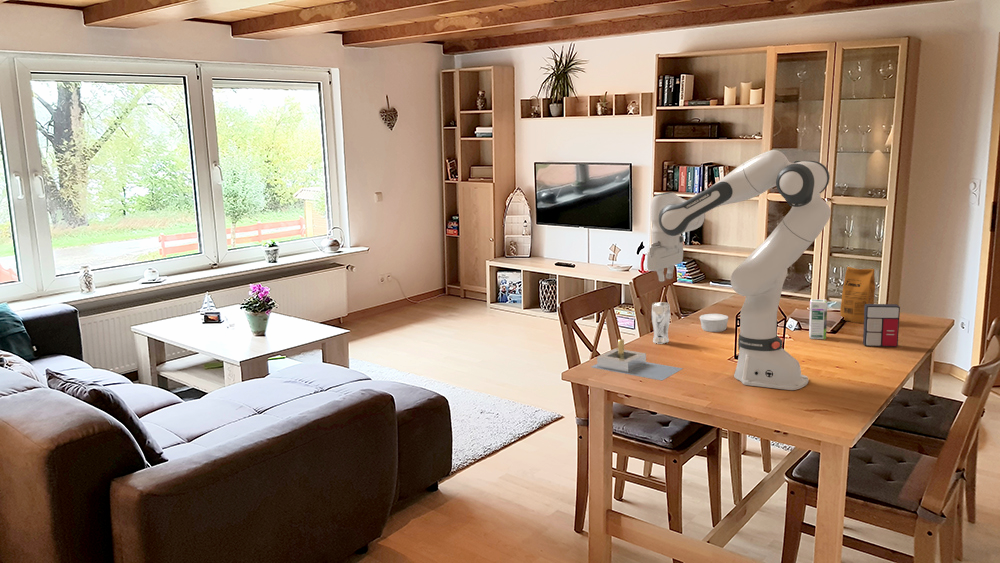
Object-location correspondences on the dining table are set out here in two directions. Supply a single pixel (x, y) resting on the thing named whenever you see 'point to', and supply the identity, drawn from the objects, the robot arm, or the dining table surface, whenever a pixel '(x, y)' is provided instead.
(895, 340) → the calculator
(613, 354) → the grey recessed tray
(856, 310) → the coffee package
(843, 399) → the dining table surface
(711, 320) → the ramekin
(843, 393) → the dining table surface
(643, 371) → the keeper board
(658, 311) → the beer glass
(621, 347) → the brass peg
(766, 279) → the robot arm
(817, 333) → the syrup box
